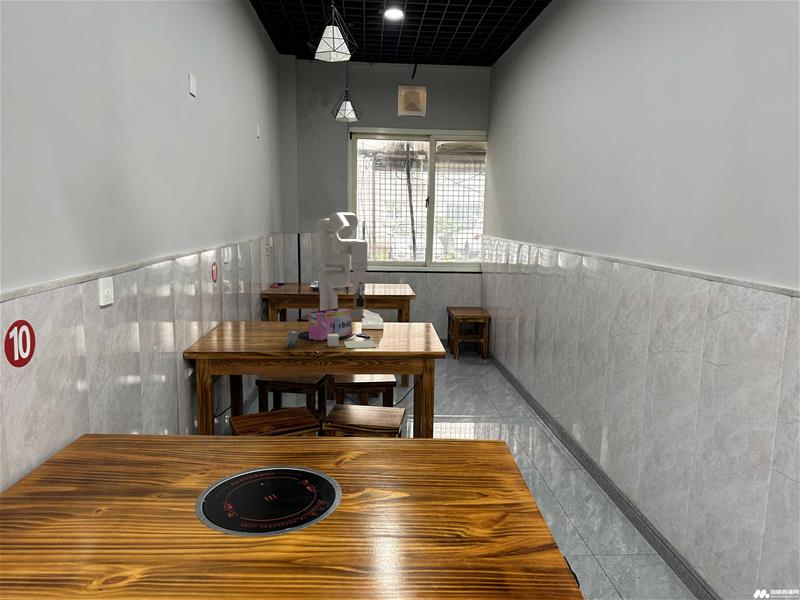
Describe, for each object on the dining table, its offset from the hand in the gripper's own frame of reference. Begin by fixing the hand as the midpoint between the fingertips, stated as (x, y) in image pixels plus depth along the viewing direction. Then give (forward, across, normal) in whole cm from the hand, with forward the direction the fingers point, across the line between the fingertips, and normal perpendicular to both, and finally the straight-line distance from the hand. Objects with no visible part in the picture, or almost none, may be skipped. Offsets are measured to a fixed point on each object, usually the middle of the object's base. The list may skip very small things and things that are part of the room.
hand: (359, 305), depth 263 cm
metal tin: (+19, -2, -32) cm, 37 cm away
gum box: (+20, -21, -12) cm, 32 cm away
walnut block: (+2, 0, 0) cm, 2 cm away
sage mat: (+19, 0, 0) cm, 19 cm away
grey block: (+19, -2, -12) cm, 23 cm away
